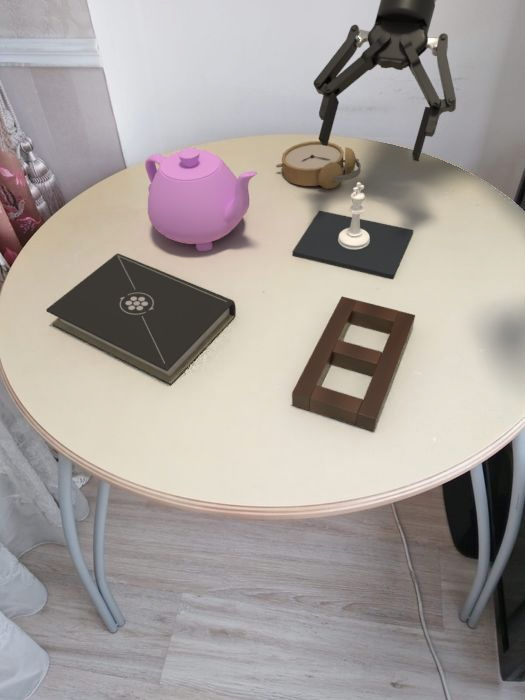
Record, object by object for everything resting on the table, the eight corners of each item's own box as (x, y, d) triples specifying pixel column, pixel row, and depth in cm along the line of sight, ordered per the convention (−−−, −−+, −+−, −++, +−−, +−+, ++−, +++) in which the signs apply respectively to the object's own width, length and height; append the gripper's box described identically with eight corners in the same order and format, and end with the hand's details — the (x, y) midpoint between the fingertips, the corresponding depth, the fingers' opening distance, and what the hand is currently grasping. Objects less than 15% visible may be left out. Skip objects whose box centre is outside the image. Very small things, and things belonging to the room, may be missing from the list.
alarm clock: (301, 137, 108) (372, 142, 100) (304, 161, 111) (373, 168, 103) (268, 163, 102) (341, 170, 94) (273, 188, 105) (344, 197, 97)
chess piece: (376, 242, 88) (383, 185, 80) (350, 253, 86) (355, 196, 79) (357, 227, 91) (362, 170, 83) (331, 237, 89) (335, 180, 82)
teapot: (286, 225, 93) (284, 147, 83) (232, 278, 85) (223, 198, 75) (182, 191, 102) (169, 116, 92) (124, 235, 93) (103, 159, 83)
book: (237, 315, 79) (235, 299, 77) (171, 385, 71) (167, 370, 69) (123, 267, 88) (118, 251, 86) (52, 325, 80) (45, 309, 77)
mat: (412, 234, 90) (413, 229, 90) (393, 279, 83) (393, 275, 82) (318, 214, 95) (319, 210, 94) (292, 255, 88) (292, 251, 87)
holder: (412, 328, 76) (415, 314, 74) (374, 432, 65) (376, 419, 63) (340, 309, 79) (341, 296, 77) (292, 405, 68) (291, 392, 66)
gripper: (500, 21, 78) (456, 172, 80) (329, 6, 86) (293, 145, 88) (505, -12, 71) (457, 155, 73) (318, -25, 79) (279, 127, 81)
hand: (367, 150), depth 80 cm, fingers open, 13 cm apart
